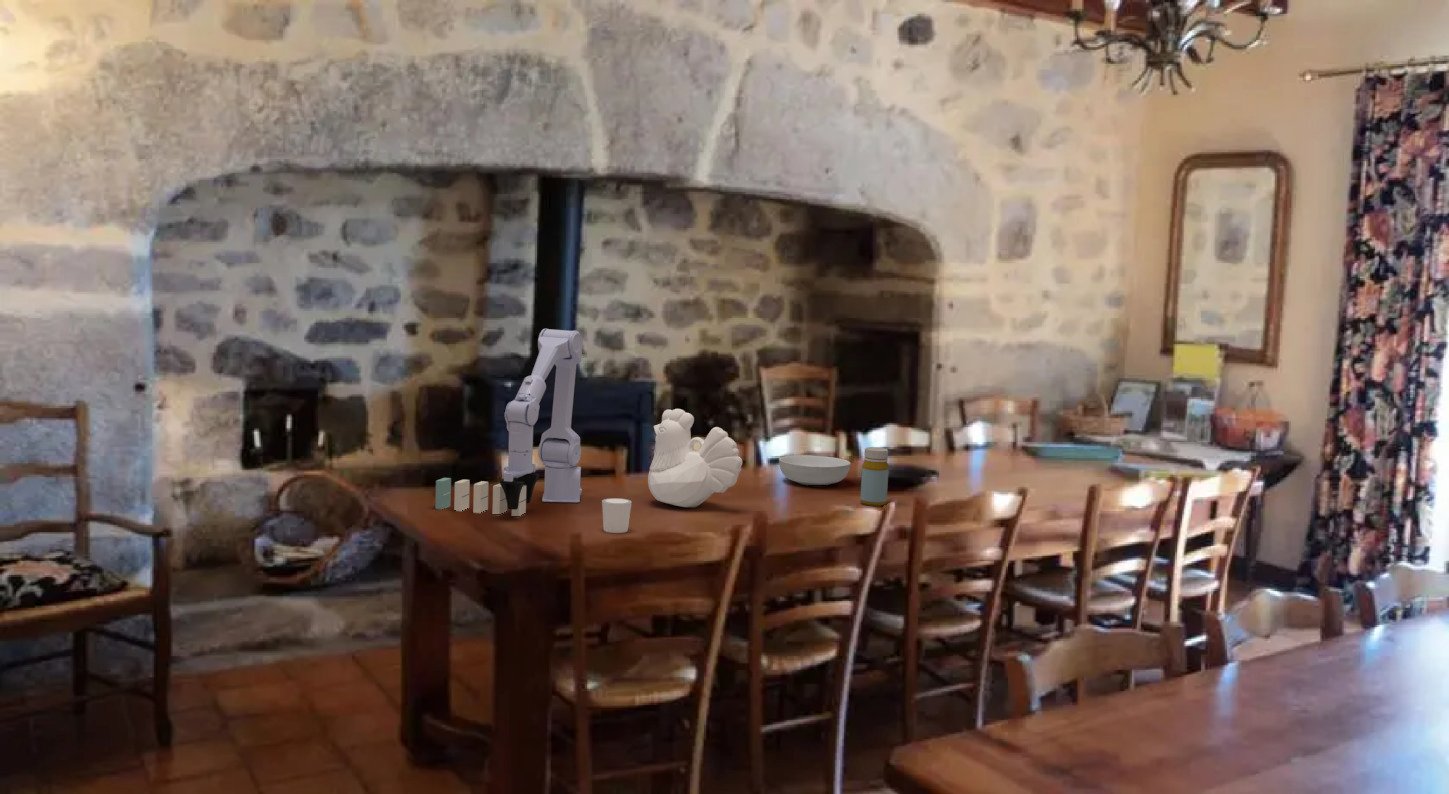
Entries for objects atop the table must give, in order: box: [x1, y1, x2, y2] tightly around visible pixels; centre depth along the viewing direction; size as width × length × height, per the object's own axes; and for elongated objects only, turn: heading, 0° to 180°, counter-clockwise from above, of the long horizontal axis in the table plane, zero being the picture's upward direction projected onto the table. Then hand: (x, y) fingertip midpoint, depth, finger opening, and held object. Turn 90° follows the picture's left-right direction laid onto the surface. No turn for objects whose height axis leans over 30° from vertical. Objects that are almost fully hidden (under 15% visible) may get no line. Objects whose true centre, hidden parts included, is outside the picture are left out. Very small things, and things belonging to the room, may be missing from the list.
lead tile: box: [511, 485, 527, 517], centre depth 288 cm, size 2×4×7 cm, turn 167°
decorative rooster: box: [647, 408, 743, 508], centre depth 305 cm, size 25×16×25 cm, turn 54°
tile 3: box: [472, 480, 489, 514], centre depth 290 cm, size 2×4×7 cm, turn 167°
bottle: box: [860, 446, 889, 507], centre depth 320 cm, size 7×7×15 cm
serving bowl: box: [778, 454, 852, 486], centre depth 347 cm, size 21×21×7 cm
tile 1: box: [434, 477, 452, 510], centre depth 292 cm, size 2×4×7 cm, turn 167°
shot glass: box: [601, 497, 632, 534], centre depth 277 cm, size 7×7×7 cm
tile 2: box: [453, 479, 471, 512], centre depth 291 cm, size 2×4×7 cm, turn 167°
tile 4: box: [491, 482, 508, 515], centre depth 289 cm, size 2×4×7 cm, turn 166°
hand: (519, 506), depth 288 cm, fingers open, 7 cm apart
